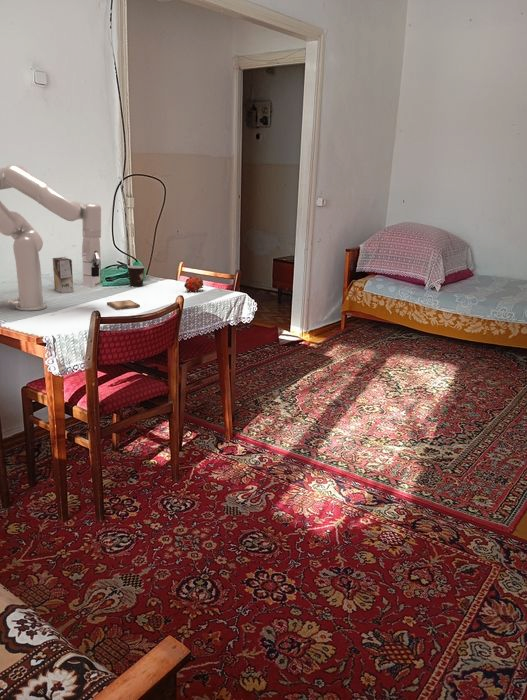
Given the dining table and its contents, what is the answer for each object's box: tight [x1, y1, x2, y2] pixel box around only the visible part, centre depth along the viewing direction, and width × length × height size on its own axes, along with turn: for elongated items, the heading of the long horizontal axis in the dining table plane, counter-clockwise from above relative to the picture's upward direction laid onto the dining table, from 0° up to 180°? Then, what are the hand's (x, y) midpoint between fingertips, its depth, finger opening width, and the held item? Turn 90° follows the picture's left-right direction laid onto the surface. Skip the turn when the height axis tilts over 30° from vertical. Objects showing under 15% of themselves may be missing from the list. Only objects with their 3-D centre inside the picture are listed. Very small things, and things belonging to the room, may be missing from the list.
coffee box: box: [52, 256, 74, 294], centre depth 281 cm, size 9×6×16 cm
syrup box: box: [81, 252, 102, 289], centre depth 247 cm, size 6×6×14 cm
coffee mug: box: [125, 265, 145, 288], centre depth 300 cm, size 12×9×10 cm
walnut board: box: [106, 299, 141, 311], centre depth 257 cm, size 11×11×1 cm
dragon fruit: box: [183, 275, 204, 292], centre depth 295 cm, size 8×8×12 cm
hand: (91, 274), depth 248 cm, fingers closed on syrup box, 7 cm apart
